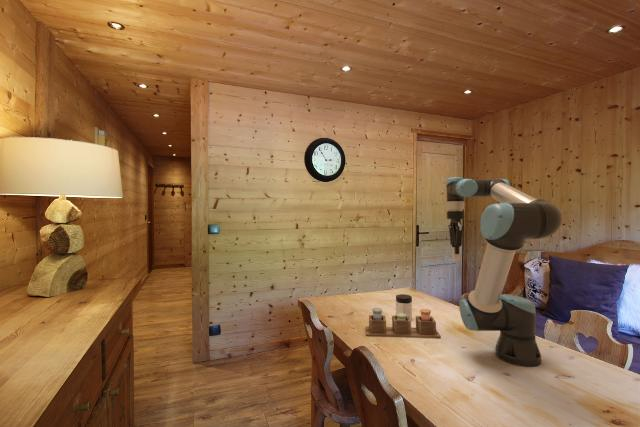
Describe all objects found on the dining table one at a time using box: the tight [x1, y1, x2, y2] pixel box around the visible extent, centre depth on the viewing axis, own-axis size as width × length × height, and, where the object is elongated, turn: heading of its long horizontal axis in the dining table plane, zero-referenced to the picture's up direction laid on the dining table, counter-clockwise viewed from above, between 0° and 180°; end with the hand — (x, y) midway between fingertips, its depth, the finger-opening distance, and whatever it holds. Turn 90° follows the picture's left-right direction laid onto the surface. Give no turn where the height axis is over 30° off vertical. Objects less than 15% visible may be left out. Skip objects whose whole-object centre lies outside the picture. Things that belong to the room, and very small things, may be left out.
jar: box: [395, 294, 413, 322], centre depth 167 cm, size 9×8×12 cm
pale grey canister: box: [371, 307, 383, 320], centre depth 150 cm, size 5×5×7 cm
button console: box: [365, 314, 442, 339], centre depth 148 cm, size 10×33×7 cm, turn 84°
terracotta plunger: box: [419, 308, 432, 321], centre depth 147 cm, size 5×5×7 cm
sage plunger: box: [395, 313, 406, 320], centre depth 148 cm, size 5×5×7 cm
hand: (456, 260), depth 149 cm, fingers closed
